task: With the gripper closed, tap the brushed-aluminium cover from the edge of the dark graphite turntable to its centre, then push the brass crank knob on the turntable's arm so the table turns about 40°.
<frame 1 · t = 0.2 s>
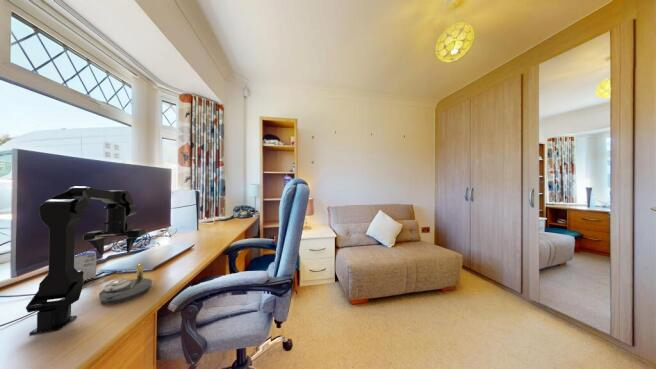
hand: (115, 253, 87), 14 cm above the table, tool pointing down, fingers open, 9 cm apart
turntable: (128, 280, 81), point 5 cm above the table, hinge at 0.0°, touching cover
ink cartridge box: (79, 281, 90), on the table
cover: (117, 288, 79), point 3 cm above the table, touching turntable
turntable base: (127, 294, 80), on the table
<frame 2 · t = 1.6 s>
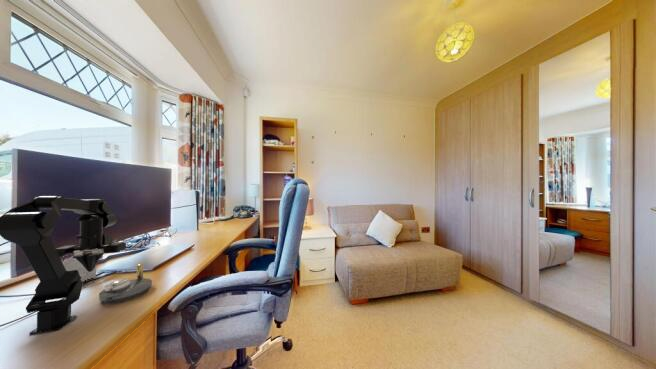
hand: (90, 271, 76), 11 cm above the table, tool pointing down, fingers closed
nothing on the table moved.
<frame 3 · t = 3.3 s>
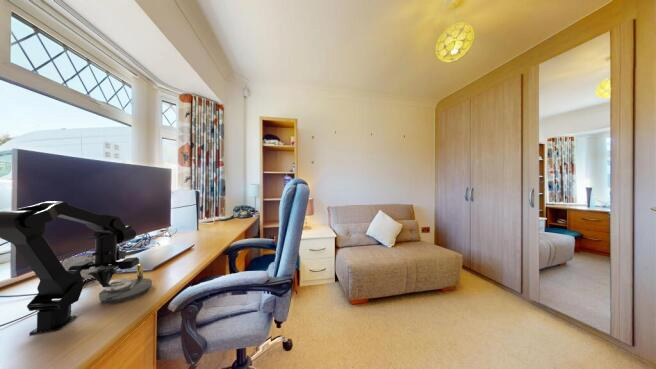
hand: (105, 286, 78), 4 cm above the table, tool pointing down, fingers closed
cover: (118, 288, 79), point 3 cm above the table, touching gripper, turntable
everything else where it was.
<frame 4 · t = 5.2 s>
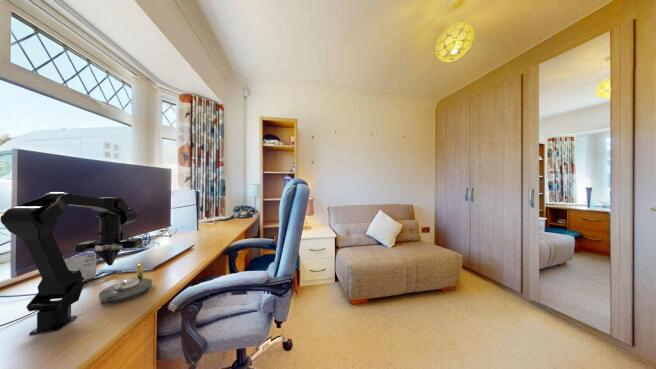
hand: (110, 265, 81), 11 cm above the table, tool pointing down, fingers closed
cover: (127, 287, 80), point 3 cm above the table, touching turntable
everything else where it was.
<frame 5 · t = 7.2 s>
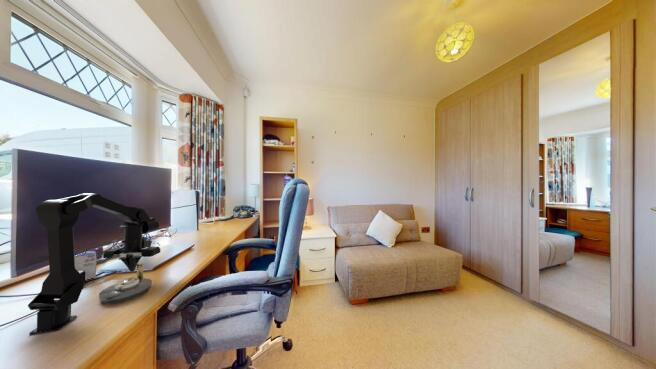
hand: (132, 271, 87), 6 cm above the table, tool pointing down, fingers closed
turntable: (128, 280, 81), point 5 cm above the table, hinge at -0.4°, touching cover, gripper
everything else where it was.
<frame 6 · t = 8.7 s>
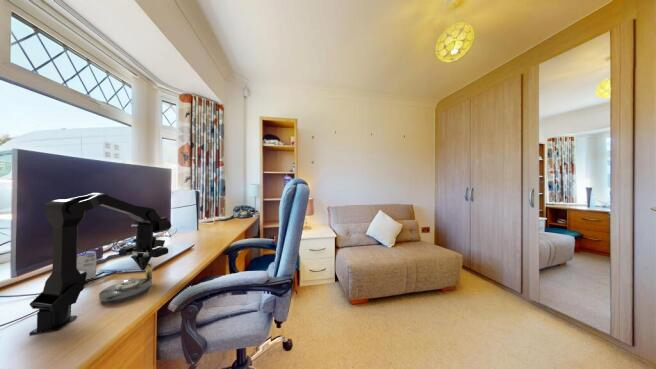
hand: (143, 270, 88), 6 cm above the table, tool pointing down, fingers closed
turntable: (130, 280, 81), point 5 cm above the table, hinge at -26.2°, touching cover, gripper
everything else where it was.
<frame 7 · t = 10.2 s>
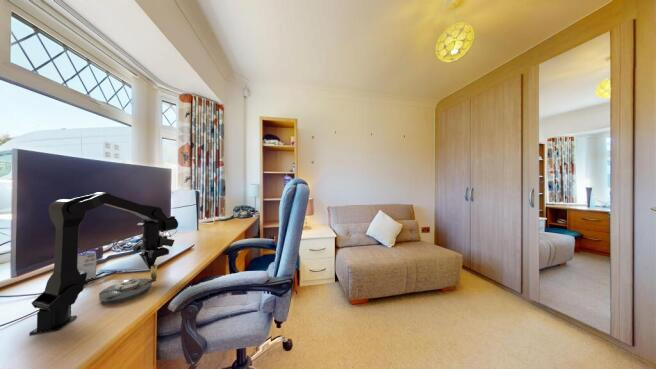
hand: (150, 268, 88), 7 cm above the table, tool pointing down, fingers closed
turntable: (130, 280, 80), point 5 cm above the table, hinge at -48.9°, touching cover
everything else where it was.
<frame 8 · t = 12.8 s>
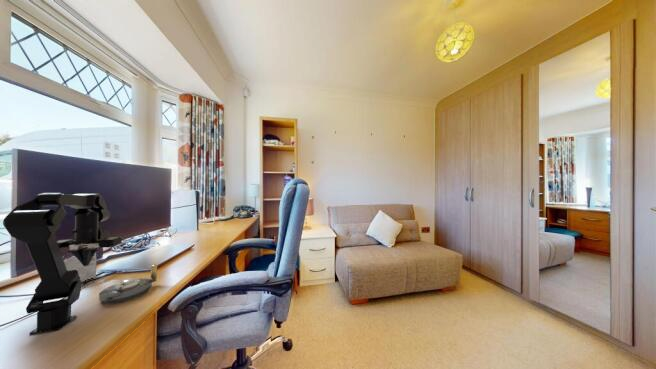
hand: (86, 265, 76), 13 cm above the table, tool pointing down, fingers closed
nothing on the table moved.
at the end: cover 0.1 cm from the turntable (horizontally); turntable at -49° (first picture: +0°); cover touching turntable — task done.
